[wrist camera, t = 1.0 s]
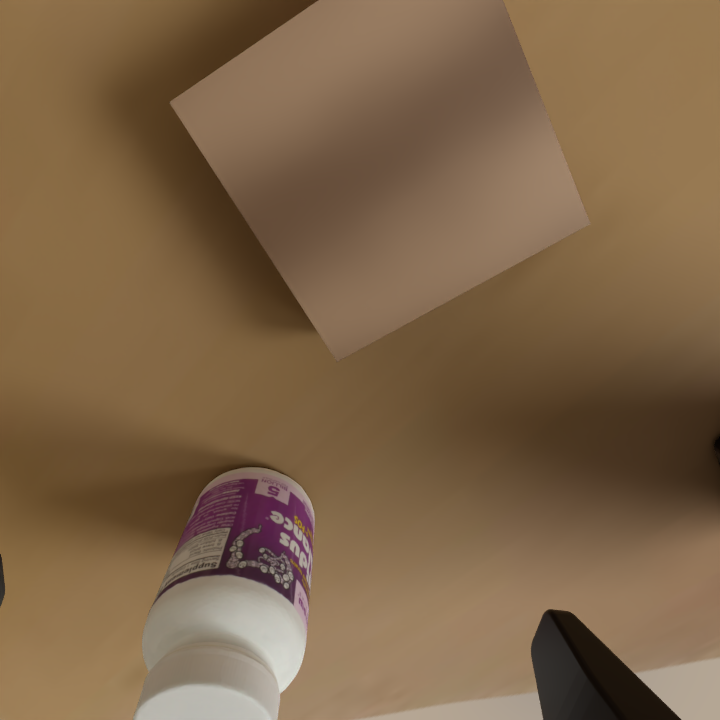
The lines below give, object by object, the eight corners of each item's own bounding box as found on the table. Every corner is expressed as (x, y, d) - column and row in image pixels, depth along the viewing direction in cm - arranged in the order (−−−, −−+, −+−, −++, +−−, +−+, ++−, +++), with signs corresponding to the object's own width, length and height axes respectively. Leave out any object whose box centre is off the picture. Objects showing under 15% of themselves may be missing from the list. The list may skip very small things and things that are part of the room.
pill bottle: (340, 520, 24) (339, 745, 15) (251, 576, 25) (201, 816, 16) (262, 438, 22) (208, 639, 13) (170, 502, 23) (63, 726, 14)
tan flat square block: (554, 211, 19) (590, 224, 16) (337, 331, 21) (337, 362, 18) (442, -59, 16) (464, -100, 13) (196, 107, 17) (169, 102, 15)
